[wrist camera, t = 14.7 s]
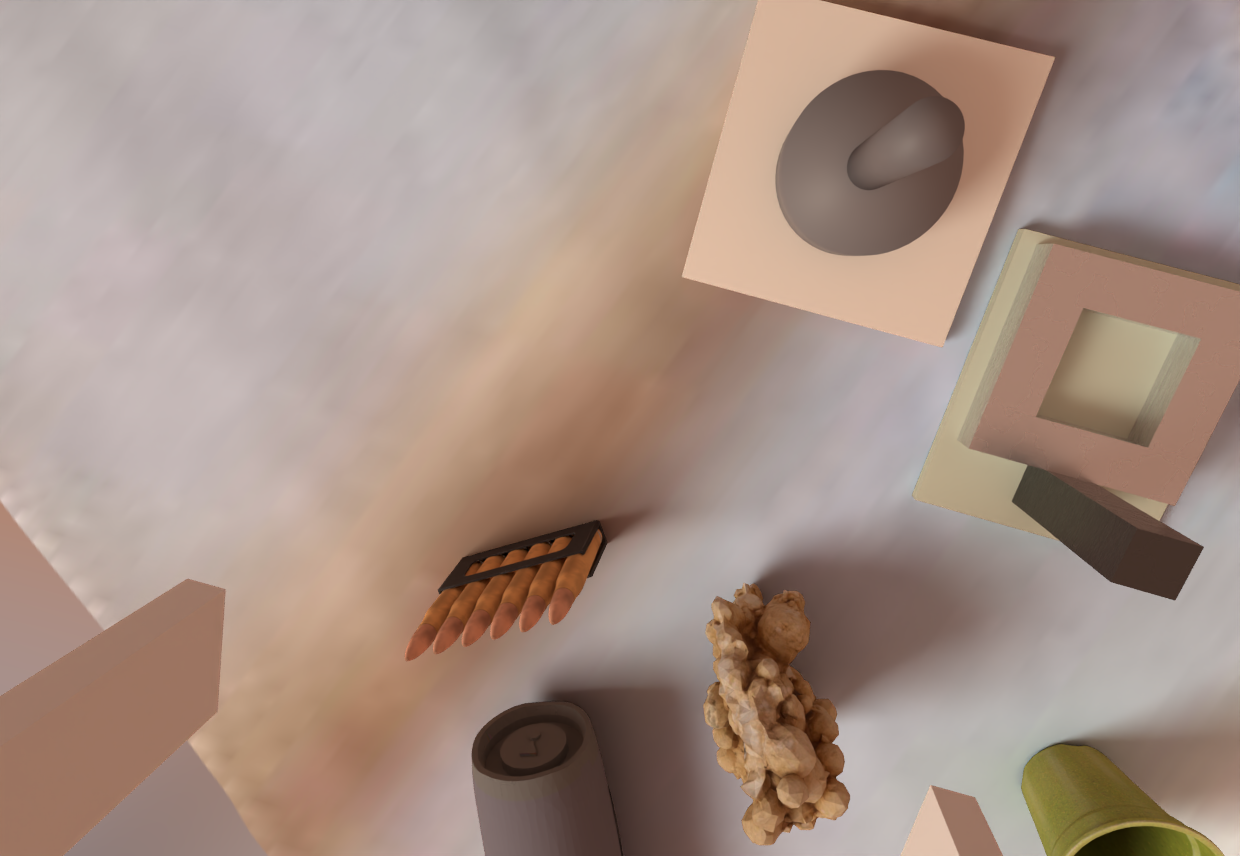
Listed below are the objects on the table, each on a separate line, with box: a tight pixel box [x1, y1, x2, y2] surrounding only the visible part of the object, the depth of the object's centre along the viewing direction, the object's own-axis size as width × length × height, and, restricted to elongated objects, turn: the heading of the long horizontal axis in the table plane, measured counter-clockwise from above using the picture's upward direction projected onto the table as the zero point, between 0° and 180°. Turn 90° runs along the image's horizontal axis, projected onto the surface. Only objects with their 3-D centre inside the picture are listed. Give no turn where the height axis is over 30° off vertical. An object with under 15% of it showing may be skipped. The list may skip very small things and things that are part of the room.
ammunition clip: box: [405, 520, 607, 661], centre depth 43 cm, size 11×2×12 cm, turn 109°
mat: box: [912, 229, 1240, 541], centre depth 41 cm, size 17×14×1 cm
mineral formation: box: [703, 583, 850, 845], centre depth 41 cm, size 8×13×15 cm, turn 19°
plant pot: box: [1021, 744, 1224, 856], centre depth 43 cm, size 9×9×9 cm
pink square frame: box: [957, 244, 1240, 600], centre depth 35 cm, size 15×12×11 cm
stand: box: [682, 0, 1055, 347], centre depth 33 cm, size 16×16×15 cm
